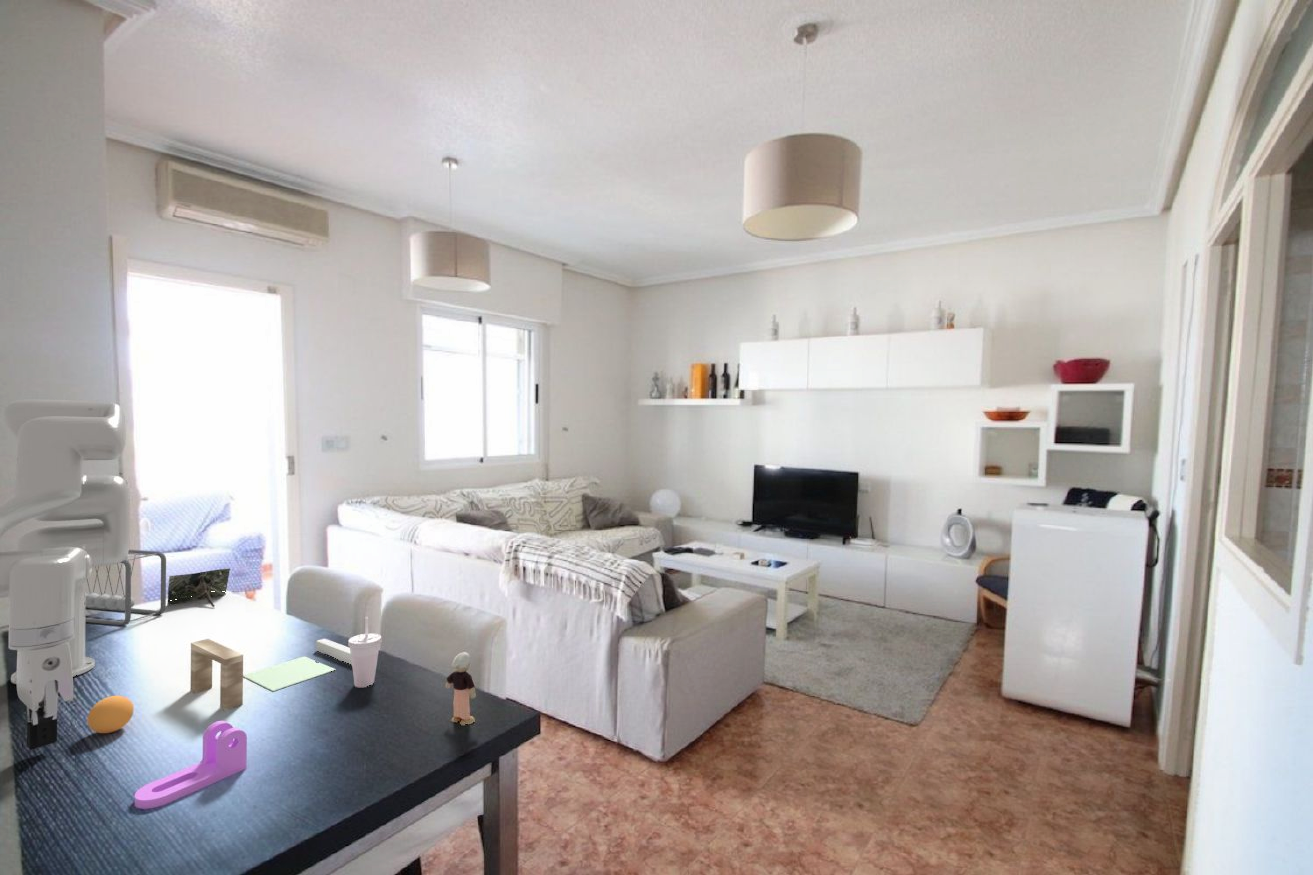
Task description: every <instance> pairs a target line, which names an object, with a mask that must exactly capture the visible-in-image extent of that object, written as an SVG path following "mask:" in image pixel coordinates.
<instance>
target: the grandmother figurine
mask: <svg viewBox="0 0 1313 875" xmlns="http://www.w3.org/2000/svg"><path fill="white" fill-rule="evenodd" d="M470 659H471V655H470V654H469V652H466V651H463V652H460V653H458V654H457V655H456V656H455V657H454V659H453V660H452V663H451V667H452V668H455V670H456V671H453V672H452V673H450V674H449V675H448V676H447V677H446V682H445V686H444V688H445V689H450V688H451V686H453V689H454V692H453V717H452V718H451V719H450V722H451V721H452V722H451V723H454V722H456V723H459V725H460V724H461V726H466V725H465V724H468V725H471V724H474V723H475V722H476V719H475V717H474V716H472V715H471V707H470V699H475V698H476V697H477V695H476V688H475V684H474V681H473V677H472V675H471V674H470V673H469V672H467V671H468V670H469V668H470V666H471V664H470V662H471V660H470ZM452 684H453V685H452ZM462 719H463V720H462ZM460 720H461V721H460ZM458 721H459V722H458ZM473 722H474V723H473Z"/></svg>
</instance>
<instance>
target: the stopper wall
mask: <svg viewBox="0 0 1313 875" xmlns="http://www.w3.org/2000/svg"><path fill="white" fill-rule="evenodd" d="M316 650H317V651H319V652H322V653H326V654H328V655H330V656H332V657H334V658H333V659H335V658H336V659H335V660H337V659H338V661H340V662H342V661H344V662H343V663H345V662H346V663H345V664H347V663H349V664H348V665H350V664H351V665H350V666H352V660H351V652H350V647H349V646H346V645H344V644H341V643H337V642H335V641H332V640H331V639H328V638H321V639H318V640H316V641H315V651H316ZM317 651H316V652H317ZM319 652H318V653H319ZM322 653H321V654H322ZM330 656H329V657H330ZM332 657H331V658H332Z"/></svg>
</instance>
